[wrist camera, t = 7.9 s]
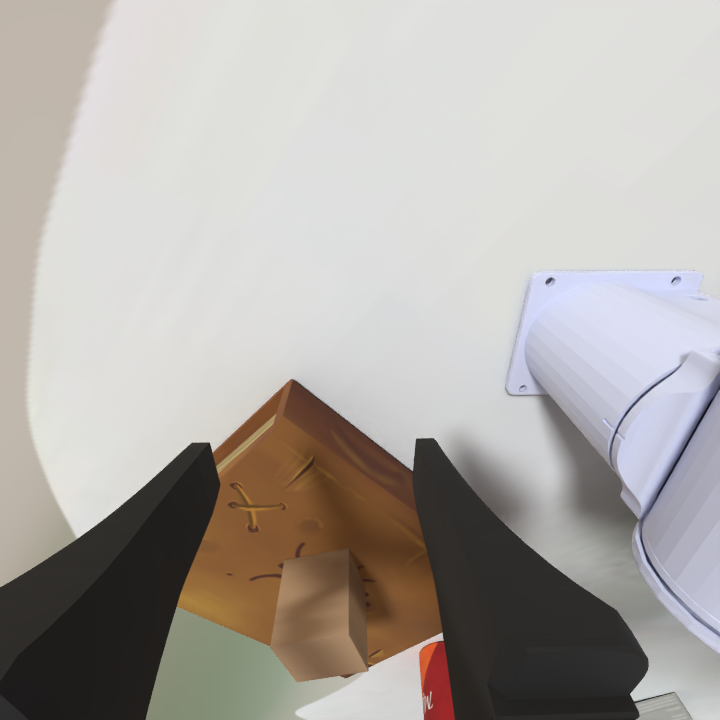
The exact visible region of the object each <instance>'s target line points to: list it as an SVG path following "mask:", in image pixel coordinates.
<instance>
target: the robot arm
mask: <svg viewBox="0 0 720 720" xmlns="http://www.w3.org/2000/svg"><path fill="white" fill-rule="evenodd" d="M550 277H552V280H551V282H550V283H549V284H545V282H546V280H547V279H548V278H550ZM675 277H676V278H675ZM673 278H675V280H674V282H672V283H671V281H672V279H673ZM702 280H703V274H702V273H701V272H698V271H694V270H667V271H540V272H536V273H535V274H533V275H532V276H531V278H530V280H529V285H528V289H527V294H526V298H525V302H524V307H523V311H522V316H521V320H520V325H519V329H518V333H517V338H516V342H515V347H514V351H513V355H512V360H511V364H510V369H509V373H508V377H507V382H506V390H507V392H508V393H509V394H511V395H545V394H549V395H550V396H551V397H552V399H553V400H554V401H555V402H556V403H557V404H558V406H559V407H560V408H561V409H562V410H563V412H564V413H565V414H566V415H567V416H568V417H569V419H570V420H571V421H572V422H573V423H574V425H575V426H576V427H577V428H578V429H579V430H580V432H581V433H582V434H583V435H584V436H585V438H586V439H587V440H588V441H589V442H590V443H591V445H592V446H593V447H594V448H595V449H596V450H597V452H598V453H599V454H600V455H601V456H602V458H603V459H604V460H605V461H606V462H607V463H608V465H609V466H610V467H611V468H612V469H613V471H614V472H615V473H616V474H617V475H618V476H619V478H620V479H621V481H622V492H621V495H620V497H621V498H622V499H623V501H624V502H625V503H626V504H627V506H628V507H629V508H630V509H631V511H632V512H633V513H634V514H635V516H636V517H637V518H638V519H639V521H638V523H637V524H636V526H635V529H634V531H633V534H632V550H633V556H634V559H635V561H636V564H637V567H638V569H639V571H640V573H641V575H642V576H643V578H644V580H645V582H646V583H647V585H648V586H649V588H650V589H651V590H652V592H653V593H654V595H655V596H656V597H657V599H658V600H659V601H660V602H661V603H662V604H663V605H664V607H665V608H666V609H667V610H668V611H669V612H670V613H671V614H672V615H673V616H674V617H675V618H676V619H677V620H678V621H679V622H680V623H681V624H682V625H683V626H684V627H685V628H686V629H687V630H689V631H690V632H691V633H692V634H693V635H695V636H696V637H697V638H698V639H700V640H701V641H702V642H703V643H704V644H706V645H707V646H709V647H710V648H711V649H713V650H714V651H716V652H717V653H719V654H720V299H717V298H715V297H712V296H709V295H706V294H704V293H701V292H698V289H699V287H700V284H701V282H702ZM523 385H524V387H523V388H521V389H519V388H520V387H521V386H523ZM412 483H413V490H414V498H415V504H416V510H417V514H418V518H419V522H420V526H421V530H422V534H423V538H424V542H425V546H426V550H427V554H428V558H429V562H430V566H431V569H432V574H433V578H434V583H435V588H436V594H437V600H438V606H439V612H440V619H441V625H442V632H443V638H444V645H445V652H446V658H447V666H448V673H449V680H450V687H451V694H452V702H453V710H454V717H455V720H636V719H638V718H639V717H640V715H639V711H638V709H637V707H636V705H635V703H634V701H633V699H632V697H631V696H630V693H631V692H632V691H633V690H634V688H635V687H636V686H637V685H638V684H639V682H640V681H641V680H642V679H643V678H644V676H645V674H646V672H647V670H648V666H649V665H648V658H647V656H646V655H645V653H644V651H643V650H642V648H641V646H640V645H639V643H638V641H637V640H636V638H635V636H634V635H633V633H632V632H631V630H630V628H629V627H628V626H627V624H626V623H625V622H624V620H623V619H622V617H621V616H620V614H619V613H618V611H617V610H615V609H614V608H612V607H611V606H609V605H608V604H606V603H605V602H603V601H602V600H600V599H599V598H597V597H596V596H594V595H593V594H591V593H590V592H588V591H587V590H585V589H584V588H582V587H581V586H579V585H578V584H576V583H575V582H574V581H572V580H571V579H570V578H568V577H567V576H566V575H564V574H563V573H561V572H560V571H559V570H557V569H556V568H555V567H553V566H552V565H551V564H550V563H548V562H547V561H546V560H545V559H544V558H542V557H541V556H540V555H539V554H538V553H536V552H535V551H534V550H533V549H532V548H530V547H529V546H528V545H527V544H525V543H524V542H523V541H522V540H521V539H520V538H519V537H518V536H517V535H516V534H514V533H513V532H512V531H511V530H510V529H509V528H508V527H507V526H506V525H505V524H504V523H503V522H502V521H501V520H500V519H499V518H498V517H497V516H496V515H495V514H494V513H493V512H492V511H491V510H490V509H489V508H488V507H487V506H486V505H485V503H484V502H483V501H482V500H481V499H480V498H479V497H478V496H477V494H476V493H475V492H474V491H473V490H472V489H471V487H470V486H469V485H468V484H467V482H466V481H465V480H464V479H463V477H462V476H461V475H460V474H459V472H458V471H457V470H456V468H455V467H454V466H453V464H452V463H451V462H450V460H449V459H448V458H447V456H446V455H445V453H444V452H443V450H442V449H441V447H440V446H439V444H438V443H437V441H436V440H435V439H434V438H422V439H416V445H415V456H414V467H413V478H412ZM220 486H221V483H220V480H219V476H218V472H217V468H216V465H215V461H214V457H213V453H212V449H211V446H210V443H191V444H190V445H189V446H188V447H187V448H186V449H185V450H183V451H182V452H181V453H180V454H179V455H178V456H177V457H176V458H175V459H174V460H173V461H172V462H171V463H169V464H168V465H167V466H166V467H165V468H164V469H163V470H162V471H161V472H160V473H159V474H157V475H156V476H155V477H154V478H153V479H152V480H151V481H150V482H149V483H147V484H146V485H145V486H144V487H143V488H142V489H141V490H139V491H138V492H137V493H136V494H135V495H133V496H132V497H131V498H130V499H129V500H127V501H126V502H125V503H124V504H123V505H121V506H120V507H119V508H118V509H117V510H115V511H114V512H113V513H112V514H110V515H109V516H108V517H107V518H105V519H104V520H103V521H101V522H100V523H99V524H97V525H96V526H95V527H93V528H92V529H91V530H89V531H88V532H86V533H85V534H84V535H82V536H81V537H80V538H78V539H77V540H75V541H74V542H72V543H71V544H69V545H68V546H66V547H65V548H63V549H62V550H60V551H59V552H57V553H56V554H54V555H52V556H51V557H49V558H48V559H46V560H45V561H43V562H42V563H40V564H39V565H37V566H36V567H34V568H32V569H31V570H29V571H27V572H26V573H24V574H23V575H21V576H19V577H18V578H16V579H14V580H13V581H11V582H9V583H7V584H6V585H4V586H2V587H0V720H145V719H146V715H147V711H148V707H149V703H150V699H151V695H152V691H153V688H154V684H155V680H156V676H157V672H158V668H159V665H160V661H161V657H162V654H163V651H164V647H165V643H166V640H167V636H168V633H169V629H170V626H171V623H172V619H173V617H174V613H175V610H176V607H177V604H178V600H179V597H180V594H181V591H182V589H183V586H184V583H185V580H186V578H187V575H188V573H189V571H190V568H191V566H192V563H193V561H194V559H195V556H196V554H197V551H198V549H199V547H200V544H201V542H202V539H203V537H204V534H205V532H206V530H207V527H208V525H209V522H210V520H211V517H212V515H213V512H214V508H215V505H216V501H217V498H218V494H219V490H220Z"/></svg>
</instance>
